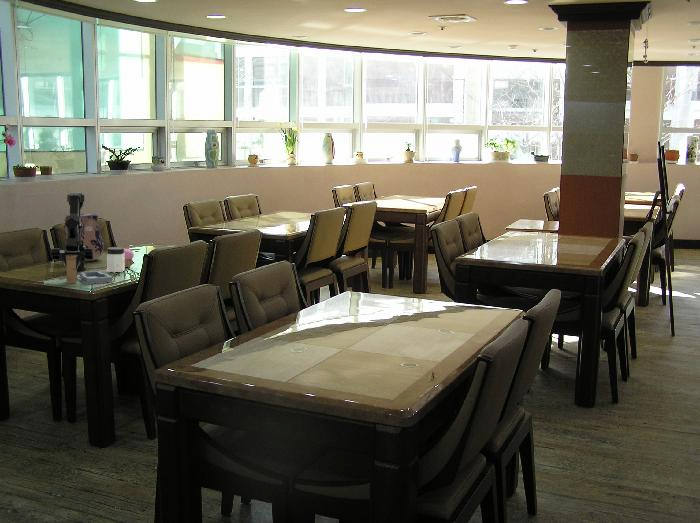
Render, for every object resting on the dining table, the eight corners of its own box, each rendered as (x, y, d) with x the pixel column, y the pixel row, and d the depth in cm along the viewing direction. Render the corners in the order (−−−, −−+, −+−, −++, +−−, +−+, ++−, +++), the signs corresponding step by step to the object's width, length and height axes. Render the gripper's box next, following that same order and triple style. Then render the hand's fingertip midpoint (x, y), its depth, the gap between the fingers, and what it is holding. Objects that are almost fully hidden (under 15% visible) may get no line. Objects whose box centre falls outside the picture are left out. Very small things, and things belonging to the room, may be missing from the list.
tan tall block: (68, 280, 370) (67, 254, 368) (77, 280, 371) (76, 254, 369) (67, 283, 364) (66, 256, 362) (76, 283, 365) (75, 256, 363)
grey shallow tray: (75, 277, 379) (75, 272, 379) (102, 275, 386) (102, 270, 386) (86, 284, 364) (86, 278, 364) (114, 282, 372) (113, 276, 371)
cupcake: (135, 266, 415) (135, 247, 413) (131, 269, 406) (131, 250, 405) (118, 266, 415) (118, 247, 413) (114, 268, 406) (113, 249, 404)
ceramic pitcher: (97, 263, 421) (97, 216, 417) (58, 261, 421) (57, 215, 417) (108, 258, 438) (107, 213, 434) (70, 256, 438) (69, 212, 434)
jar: (109, 273, 393) (109, 249, 391) (104, 270, 399) (104, 247, 398) (127, 272, 398) (127, 248, 396) (122, 269, 404) (122, 246, 402)
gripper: (50, 231, 365) (48, 258, 357) (92, 231, 370) (91, 258, 361) (52, 245, 374) (50, 272, 365) (93, 245, 379) (92, 272, 370)
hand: (71, 268), depth 365 cm, fingers closed on tan tall block, 4 cm apart
